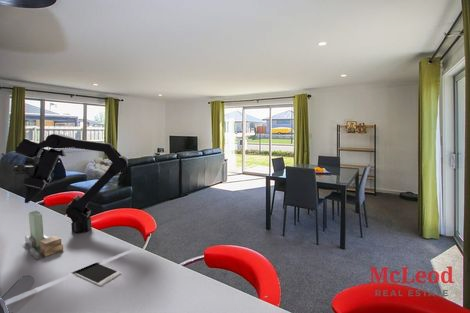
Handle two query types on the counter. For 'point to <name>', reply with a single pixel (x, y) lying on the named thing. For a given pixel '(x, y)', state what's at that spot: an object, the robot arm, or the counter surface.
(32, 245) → the rack
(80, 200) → the robot arm
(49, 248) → the block
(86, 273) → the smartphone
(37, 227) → the pale green block
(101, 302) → the counter surface
